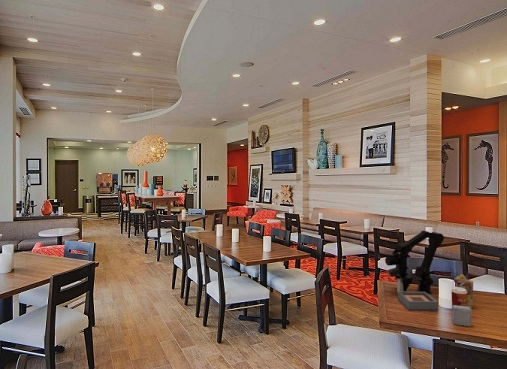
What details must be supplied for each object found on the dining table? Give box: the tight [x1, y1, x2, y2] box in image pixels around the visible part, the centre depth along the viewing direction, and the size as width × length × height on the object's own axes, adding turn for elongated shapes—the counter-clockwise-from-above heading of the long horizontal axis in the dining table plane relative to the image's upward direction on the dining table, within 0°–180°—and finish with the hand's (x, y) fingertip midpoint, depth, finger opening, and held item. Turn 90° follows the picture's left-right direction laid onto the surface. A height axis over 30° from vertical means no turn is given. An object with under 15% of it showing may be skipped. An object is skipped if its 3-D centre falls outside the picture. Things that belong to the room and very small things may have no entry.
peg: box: [396, 279, 403, 294], centre depth 218 cm, size 4×4×9 cm
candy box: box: [453, 277, 474, 309], centre depth 199 cm, size 9×4×15 cm, turn 39°
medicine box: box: [451, 304, 473, 327], centre depth 176 cm, size 8×4×9 cm, turn 71°
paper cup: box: [450, 286, 467, 306], centre depth 188 cm, size 8×8×14 cm
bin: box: [397, 291, 439, 312], centre depth 200 cm, size 16×16×5 cm
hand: (401, 289), depth 218 cm, fingers open, 9 cm apart
